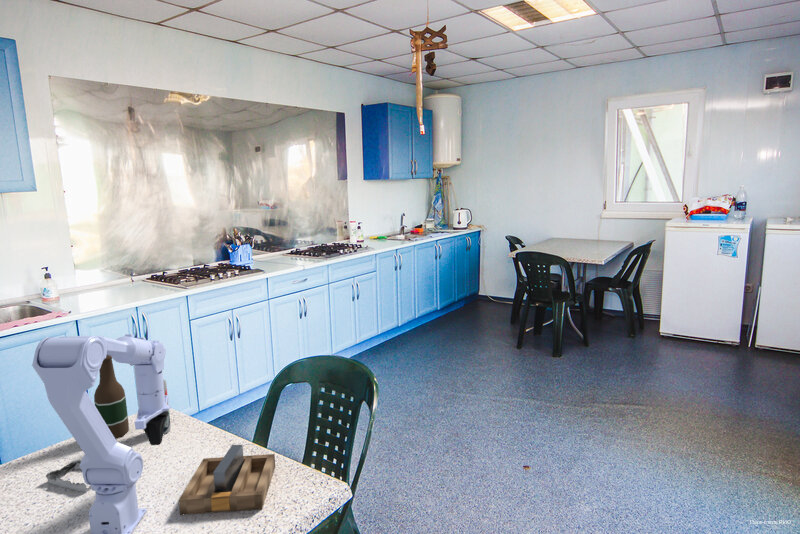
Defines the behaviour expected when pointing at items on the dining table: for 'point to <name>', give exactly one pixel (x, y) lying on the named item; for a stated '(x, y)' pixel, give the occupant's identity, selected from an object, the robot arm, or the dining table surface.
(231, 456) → the panel
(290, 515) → the dining table surface
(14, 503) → the dining table surface
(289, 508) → the dining table surface
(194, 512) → the rack
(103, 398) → the beer bottle
